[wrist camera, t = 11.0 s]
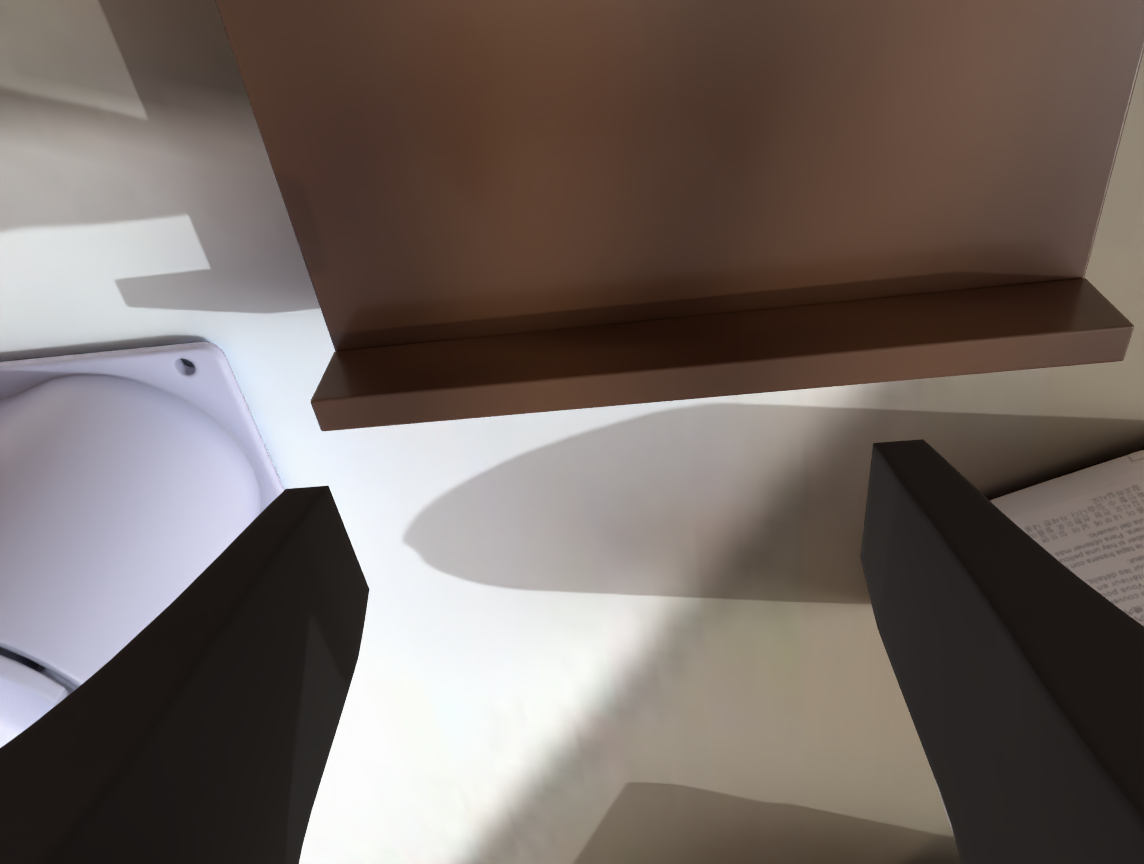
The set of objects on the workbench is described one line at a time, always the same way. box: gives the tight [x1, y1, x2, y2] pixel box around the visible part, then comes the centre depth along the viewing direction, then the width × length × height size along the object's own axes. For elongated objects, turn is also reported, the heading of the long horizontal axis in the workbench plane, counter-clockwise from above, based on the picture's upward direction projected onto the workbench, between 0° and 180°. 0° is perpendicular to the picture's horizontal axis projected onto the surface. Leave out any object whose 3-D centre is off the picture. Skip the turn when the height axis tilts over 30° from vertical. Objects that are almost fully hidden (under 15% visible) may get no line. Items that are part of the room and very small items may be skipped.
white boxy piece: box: [936, 450, 1144, 831], centre depth 20 cm, size 10×4×12 cm, turn 119°
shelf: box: [215, 0, 1144, 431], centre depth 16 cm, size 16×9×5 cm, turn 97°
